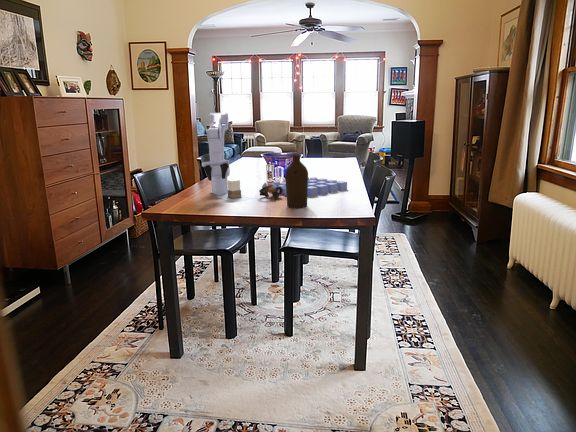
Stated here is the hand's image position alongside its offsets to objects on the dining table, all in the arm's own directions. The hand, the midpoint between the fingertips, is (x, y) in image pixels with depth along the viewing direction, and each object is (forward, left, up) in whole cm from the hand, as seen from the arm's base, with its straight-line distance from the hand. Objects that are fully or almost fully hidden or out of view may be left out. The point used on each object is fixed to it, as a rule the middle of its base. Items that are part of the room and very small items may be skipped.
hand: (216, 179), depth 226 cm
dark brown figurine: (+17, +21, -11) cm, 30 cm away
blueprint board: (+3, +8, -10) cm, 13 cm away
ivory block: (+3, +8, -6) cm, 10 cm away
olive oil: (+39, +21, -11) cm, 46 cm away
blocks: (+9, +48, -11) cm, 50 cm away
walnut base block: (+3, +8, -10) cm, 13 cm away
